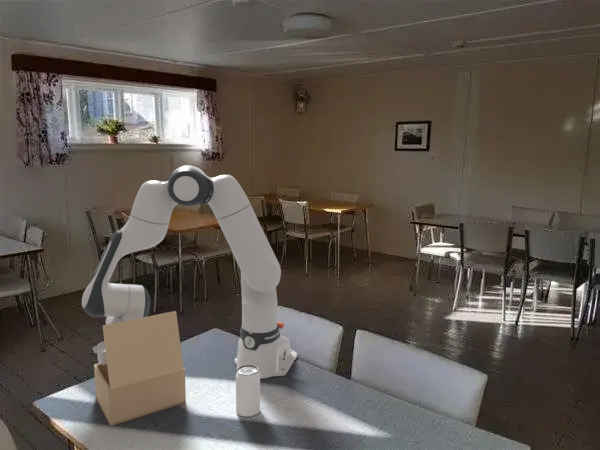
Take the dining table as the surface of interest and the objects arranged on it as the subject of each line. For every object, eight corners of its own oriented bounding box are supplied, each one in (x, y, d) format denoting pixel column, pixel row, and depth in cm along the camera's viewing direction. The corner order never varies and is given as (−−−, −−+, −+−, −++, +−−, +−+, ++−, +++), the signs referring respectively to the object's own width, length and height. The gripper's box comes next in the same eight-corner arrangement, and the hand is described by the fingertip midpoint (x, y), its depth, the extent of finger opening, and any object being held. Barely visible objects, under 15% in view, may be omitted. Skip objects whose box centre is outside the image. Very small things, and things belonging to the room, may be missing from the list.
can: (256, 419, 124) (256, 377, 122) (232, 416, 125) (232, 374, 123) (262, 406, 130) (263, 365, 128) (240, 403, 131) (240, 362, 129)
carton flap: (102, 325, 119) (102, 325, 118) (175, 311, 130) (176, 311, 129) (110, 389, 118) (110, 389, 118) (183, 369, 129) (183, 369, 128)
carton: (95, 397, 132) (93, 364, 131) (165, 378, 144) (164, 347, 142) (110, 426, 119) (108, 390, 118) (185, 402, 131) (184, 369, 129)
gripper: (90, 335, 129) (101, 355, 117) (165, 321, 140) (181, 338, 129) (92, 357, 130) (102, 379, 119) (165, 341, 141) (181, 360, 130)
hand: (144, 358), depth 124 cm, fingers closed, pressing on carton flap
